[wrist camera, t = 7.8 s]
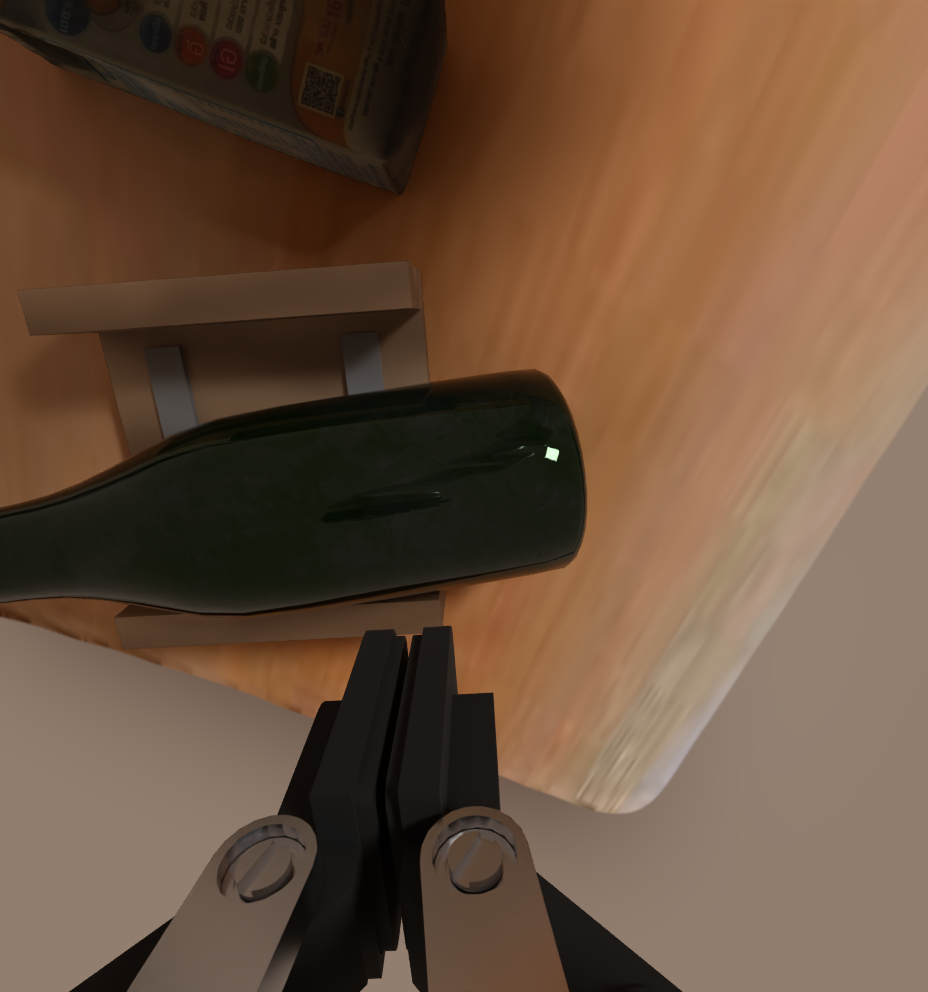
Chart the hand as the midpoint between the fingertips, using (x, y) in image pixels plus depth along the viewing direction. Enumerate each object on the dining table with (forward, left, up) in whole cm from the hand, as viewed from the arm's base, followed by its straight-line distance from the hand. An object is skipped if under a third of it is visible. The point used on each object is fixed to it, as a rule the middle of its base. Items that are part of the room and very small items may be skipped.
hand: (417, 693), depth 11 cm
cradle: (0, -10, -24) cm, 26 cm away
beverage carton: (-20, -9, -25) cm, 33 cm away
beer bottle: (+1, +6, -19) cm, 20 cm away
